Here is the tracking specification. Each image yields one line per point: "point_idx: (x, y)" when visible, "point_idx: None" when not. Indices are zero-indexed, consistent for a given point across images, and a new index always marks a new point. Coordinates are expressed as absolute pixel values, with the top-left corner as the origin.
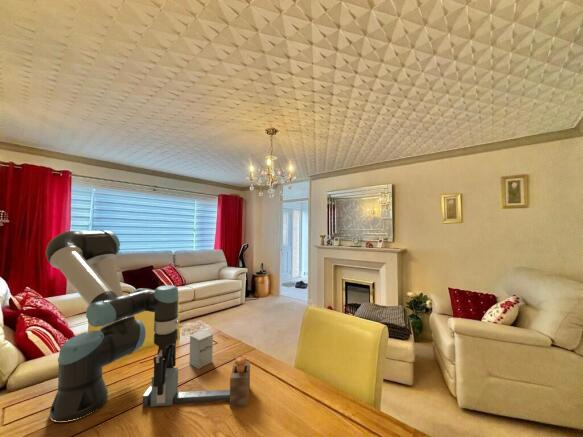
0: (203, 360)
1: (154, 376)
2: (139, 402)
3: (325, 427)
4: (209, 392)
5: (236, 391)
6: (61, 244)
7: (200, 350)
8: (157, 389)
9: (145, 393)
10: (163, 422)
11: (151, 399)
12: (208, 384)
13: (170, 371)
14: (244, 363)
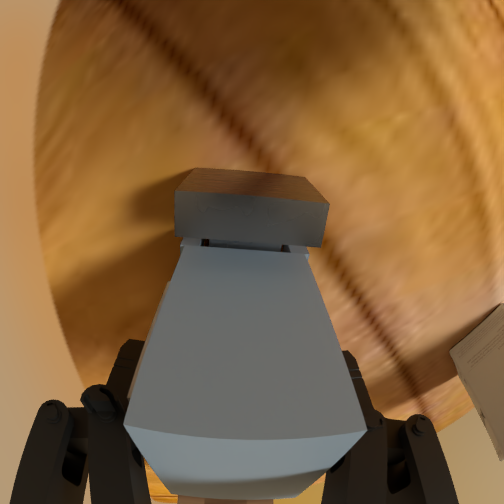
0: (463, 380)
1: (18, 485)
2: (261, 119)
3: (148, 487)
4: None
5: None
6: None
7: (484, 417)
8: (110, 377)
9: (208, 202)
10: (93, 318)
11: (183, 250)
12: None
13: (244, 491)
14: None
